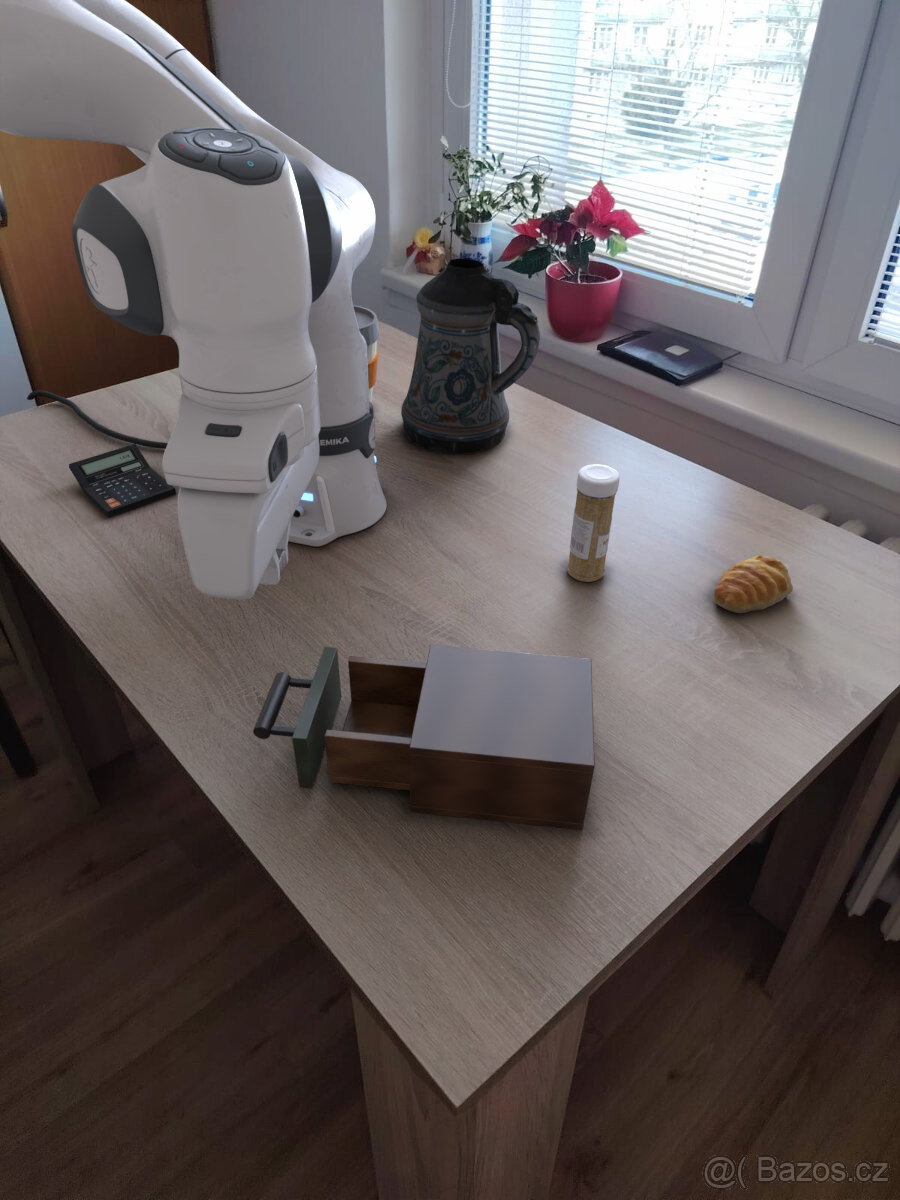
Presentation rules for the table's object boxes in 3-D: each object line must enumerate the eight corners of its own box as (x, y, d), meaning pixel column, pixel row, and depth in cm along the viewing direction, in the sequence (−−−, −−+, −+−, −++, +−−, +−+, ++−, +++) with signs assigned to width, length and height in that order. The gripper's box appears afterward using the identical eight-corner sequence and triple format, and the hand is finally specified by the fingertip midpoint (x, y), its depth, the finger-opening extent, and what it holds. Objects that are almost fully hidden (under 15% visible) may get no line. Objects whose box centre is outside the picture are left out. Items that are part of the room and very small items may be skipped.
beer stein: (400, 408, 133) (397, 245, 118) (520, 407, 134) (532, 245, 119) (402, 456, 120) (398, 281, 105) (534, 455, 121) (550, 281, 106)
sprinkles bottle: (610, 580, 97) (626, 480, 89) (573, 585, 96) (586, 484, 88) (596, 559, 101) (610, 460, 92) (560, 563, 100) (572, 464, 91)
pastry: (745, 627, 91) (753, 599, 88) (695, 598, 95) (702, 571, 92) (794, 595, 95) (803, 568, 93) (744, 569, 100) (752, 542, 97)
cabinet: (410, 812, 70) (409, 747, 65) (430, 707, 80) (430, 644, 75) (582, 830, 69) (594, 765, 64) (581, 721, 79) (591, 658, 74)
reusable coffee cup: (378, 429, 127) (375, 333, 118) (297, 427, 127) (287, 331, 118) (385, 395, 137) (382, 304, 128) (309, 393, 137) (301, 302, 128)
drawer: (251, 783, 71) (241, 732, 67) (286, 691, 80) (279, 642, 76) (454, 804, 70) (456, 754, 66) (468, 708, 79) (470, 659, 75)
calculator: (108, 517, 106) (103, 497, 104) (73, 482, 113) (67, 462, 111) (176, 493, 111) (172, 473, 109) (138, 461, 118) (134, 442, 116)
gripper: (253, 348, 64) (270, 502, 73) (149, 475, 48) (187, 654, 56) (333, 354, 64) (341, 508, 72) (255, 485, 48) (277, 663, 56)
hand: (273, 573), depth 64 cm, fingers closed
